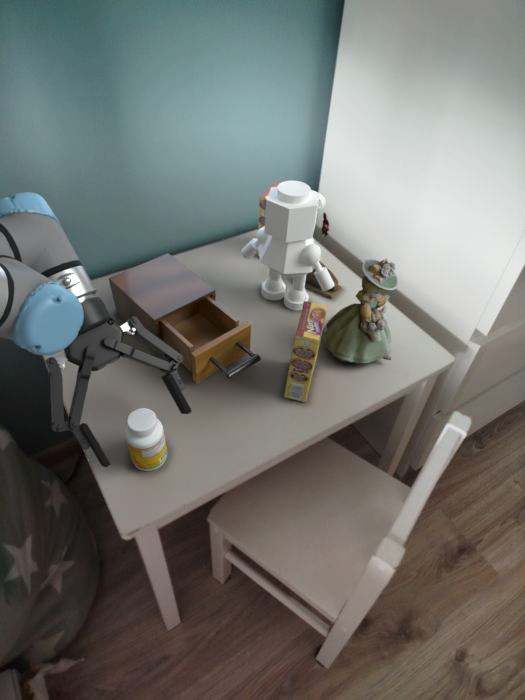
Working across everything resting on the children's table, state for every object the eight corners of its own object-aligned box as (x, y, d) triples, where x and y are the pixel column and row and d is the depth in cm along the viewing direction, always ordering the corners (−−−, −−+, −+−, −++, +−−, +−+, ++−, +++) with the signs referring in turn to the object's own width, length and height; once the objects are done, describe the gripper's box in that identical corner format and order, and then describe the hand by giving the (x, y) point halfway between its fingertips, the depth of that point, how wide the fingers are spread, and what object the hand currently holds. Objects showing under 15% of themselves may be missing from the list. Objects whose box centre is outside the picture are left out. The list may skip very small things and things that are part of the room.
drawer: (270, 368, 84) (273, 341, 80) (217, 403, 78) (216, 376, 73) (202, 312, 94) (201, 285, 90) (150, 339, 88) (146, 312, 83)
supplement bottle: (128, 448, 72) (117, 410, 65) (161, 437, 74) (155, 399, 67) (137, 477, 69) (126, 440, 62) (172, 464, 71) (165, 427, 64)
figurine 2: (277, 275, 106) (280, 242, 100) (288, 266, 109) (291, 234, 102) (331, 299, 101) (338, 266, 95) (341, 289, 103) (348, 256, 97)
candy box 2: (307, 403, 80) (320, 341, 69) (283, 398, 81) (292, 335, 70) (315, 367, 86) (328, 304, 76) (293, 362, 87) (302, 299, 76)
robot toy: (340, 302, 100) (364, 194, 82) (315, 332, 93) (336, 220, 75) (255, 267, 108) (260, 160, 90) (227, 292, 101) (226, 182, 83)
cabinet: (216, 323, 94) (215, 289, 87) (159, 354, 87) (154, 320, 81) (171, 286, 101) (167, 252, 95) (116, 312, 94) (108, 277, 88)
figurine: (369, 390, 83) (398, 304, 69) (304, 353, 89) (318, 267, 74) (403, 346, 92) (435, 262, 77) (342, 315, 97) (361, 231, 83)
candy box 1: (271, 261, 110) (276, 201, 99) (255, 256, 111) (258, 196, 100) (286, 243, 115) (292, 184, 104) (271, 238, 117) (275, 180, 106)
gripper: (-21, 344, 54) (72, 495, 58) (158, 265, 67) (226, 393, 70) (-21, 351, 61) (63, 486, 64) (143, 278, 73) (206, 394, 77)
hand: (148, 437), depth 67 cm, fingers open, 13 cm apart
